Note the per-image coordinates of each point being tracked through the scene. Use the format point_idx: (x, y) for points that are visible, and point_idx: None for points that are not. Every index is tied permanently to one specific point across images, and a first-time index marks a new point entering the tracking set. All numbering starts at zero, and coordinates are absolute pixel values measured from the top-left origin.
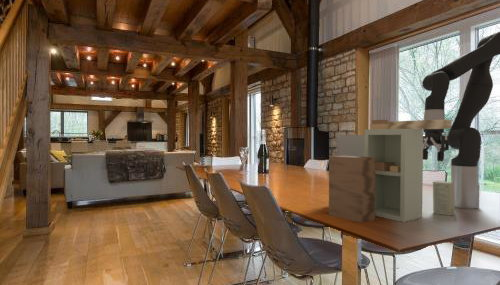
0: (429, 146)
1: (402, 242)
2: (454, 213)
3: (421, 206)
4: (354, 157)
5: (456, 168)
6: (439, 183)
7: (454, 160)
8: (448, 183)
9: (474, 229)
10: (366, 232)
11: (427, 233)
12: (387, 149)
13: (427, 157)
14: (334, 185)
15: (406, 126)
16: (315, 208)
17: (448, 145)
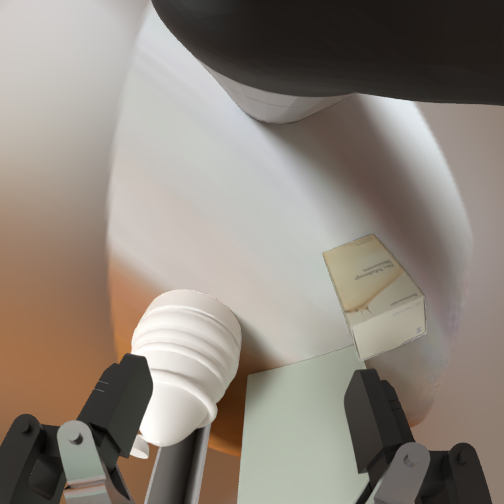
0: (117, 495)
1: (418, 417)
2: (374, 235)
3: (365, 366)
4: None
5: (316, 100)
6: (387, 348)
7: (304, 85)
8: (422, 335)
9: (460, 307)
10: None
11: (423, 385)
12: None
13: (137, 372)
14: None
15: None
16: (214, 443)
17: (482, 483)
